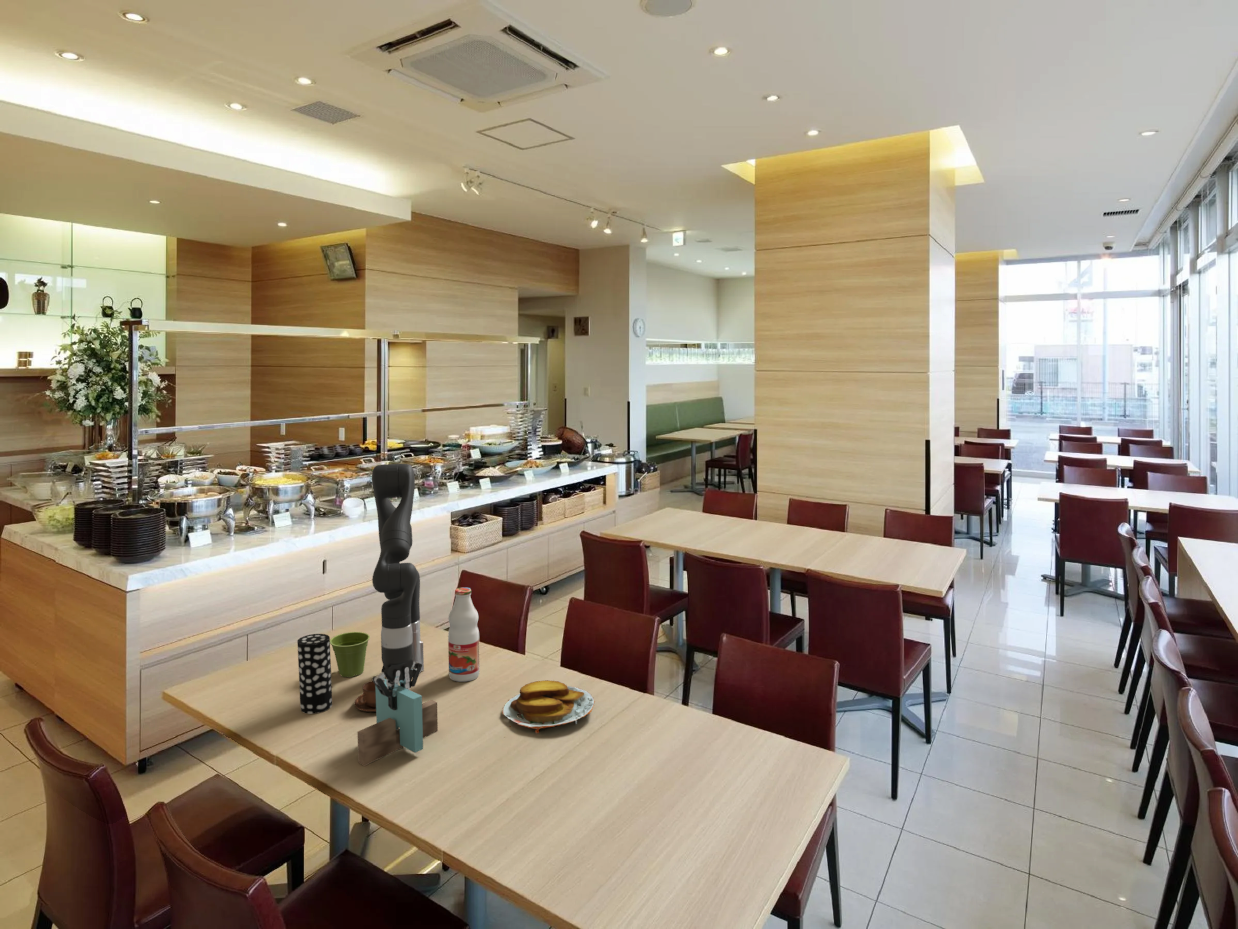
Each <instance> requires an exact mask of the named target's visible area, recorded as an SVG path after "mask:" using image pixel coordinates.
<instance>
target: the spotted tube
mask: <svg viewBox="0 0 1238 929" xmlns="http://www.w3.org/2000/svg"><path fill="white" fill-rule="evenodd" d="M330 640H331V638H330V635H329V634H325V633H312V634H307V635H304V636H301V637H299V639H297V640H296V641H297V658H298V659H297V660H298V661H297V663H298V664H297V665H298V680H299V681H298V682H299V683H298V684H299V701H300V703H299V707H300V712H301V713H304V714H308V715H312V714H320V713H324V712H326V711H328V710H329V709H331V708H332V707H333V688H332V687H333V686H332V685H333V684H332V683H333V682H332V666H331V665H332V661H331V644H330Z"/></svg>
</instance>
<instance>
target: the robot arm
mask: <svg viewBox="0 0 1238 929" xmlns="http://www.w3.org/2000/svg"><path fill="white" fill-rule="evenodd" d="M371 482H372V491H373V497H374V501H375V508H376V513H377V526H378V539H379V546H380V552H379V553H380V554H379V558H378V561H377V563H376V566H375V568H374V570H373V573H372V578H371V579H372V580H371V583H372V586H373V588H374V589H375V590H376V592H378V593H381V594H384V597H385V598H386V599H387V600H386V601H384V602H383V603H382V605H381V608H380V609H381V610H380V613H381V630H380V647H381V662H382V668H381V672H380V673H378V675H377V676H376V675H375V676H372V678H371V681H373V682H374V683H375V685H376V687H377V688H378V690H379V692H380V693H381V694H382V695H384V696H386V697H388V706H389V708H390V709H392V710H397V696H396V695H397V687H398V686H402V687H404V688H406V689H408V690H410V689H411V688H415V686H416V684H417V681H418V678H419V676H420V673H421V672H422V671H424V670H425V667H424V666H425V664H424V662H425V661H424V659H425V658H424V642H423V641H422V640H421V612H420V596H421V595H420V594H421V592H420V591H421V577H420V572H419V571H418V569H417V567H416V566H415V564H413V563H411V562H403V561H405V560H407V559H409V555H410V552H411V548H412V546H413V530H412V528H413V527H412V525H411V520H412V519H411V518H412V513H413V505H414V499H415V489H416V488H415V486H416V479H415V471H414V467H413V466H412V465H411V464H409V463H391V464H379V465H375V466H374V467H373V469H372V474H371ZM391 498H393V499H394V498H401V499H400V501H399V503H398V505H397V507H396V506H395V505H394V504H393V503H392V502H391V500H390V499H391ZM385 679H386V685H387V687H386V685H385V683H384V682H385ZM410 691H411V690H410Z"/></svg>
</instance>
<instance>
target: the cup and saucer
mask: <svg viewBox="0 0 1238 929" xmlns="http://www.w3.org/2000/svg"><path fill="white" fill-rule="evenodd" d="M353 704H354V706H355V707H356V709H358V710H359V711H362V712H368V713H369V712H371V713H373V712H375V713H376V687H375V683H374V682H373V680H369V681H368V682H366V683H364V684H363V685H362V694H361V695H359V696H357V697H355V699H354V702H353Z"/></svg>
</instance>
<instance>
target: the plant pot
mask: <svg viewBox="0 0 1238 929" xmlns="http://www.w3.org/2000/svg"><path fill="white" fill-rule="evenodd" d="M370 639H371V635H370V634H369V633H366V632H362V631H350V632H343V633H340V634H339V633H338V634H337V635H335V636H333V637H332V638H330V646H331V647H332V650H333V652H334V656H335V662H336V665H337V666H336V667H337V669H338V670H337V671H338V672H339V673H338V674H339V675H340V676H341V677H343V678H354V677H355V676H359V675H362V674H363V673H364V671H365V664H366V663H365V662H366V655H367V648H368V645H369V640H370Z"/></svg>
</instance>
